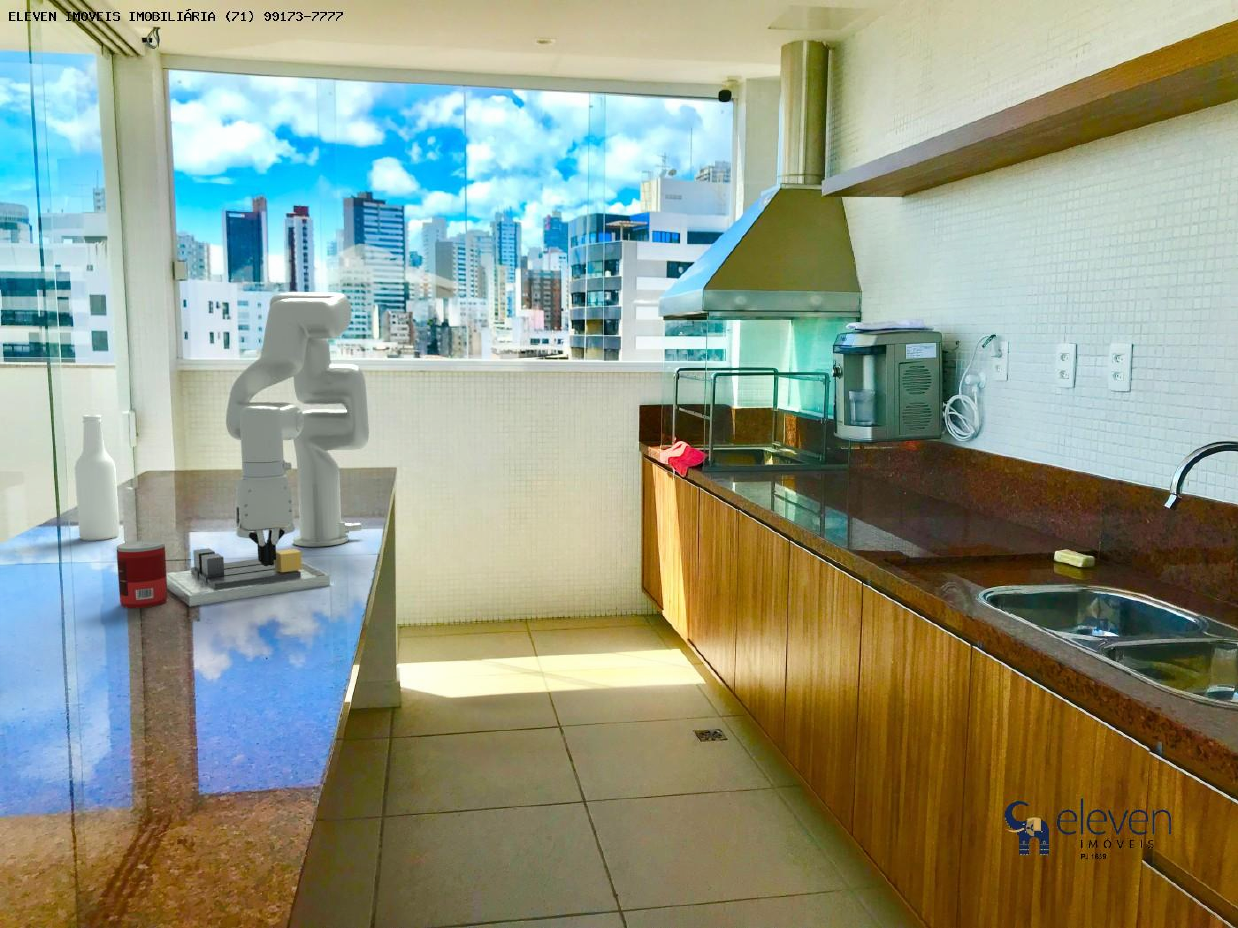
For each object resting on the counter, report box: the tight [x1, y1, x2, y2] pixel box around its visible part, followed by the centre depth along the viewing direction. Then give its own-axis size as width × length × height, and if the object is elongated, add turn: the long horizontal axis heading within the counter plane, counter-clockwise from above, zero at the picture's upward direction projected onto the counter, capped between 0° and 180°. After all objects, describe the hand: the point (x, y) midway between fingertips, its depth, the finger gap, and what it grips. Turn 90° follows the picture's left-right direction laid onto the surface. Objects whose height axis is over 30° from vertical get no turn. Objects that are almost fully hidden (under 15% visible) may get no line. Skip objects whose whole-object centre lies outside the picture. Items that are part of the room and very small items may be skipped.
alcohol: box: [74, 414, 121, 542], centre depth 240 cm, size 9×9×30 cm
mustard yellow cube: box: [274, 548, 303, 572], centre depth 192 cm, size 4×4×4 cm
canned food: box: [116, 539, 168, 609], centre depth 179 cm, size 8×8×11 cm
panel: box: [166, 547, 331, 607], centre depth 193 cm, size 26×21×6 cm
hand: (267, 564), depth 190 cm, fingers closed
